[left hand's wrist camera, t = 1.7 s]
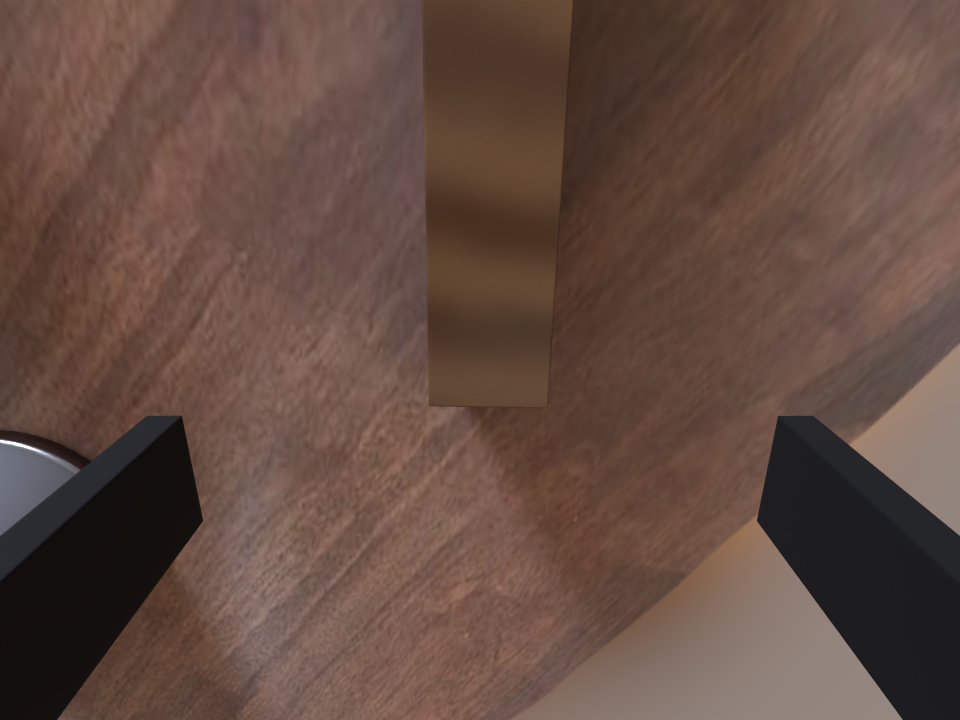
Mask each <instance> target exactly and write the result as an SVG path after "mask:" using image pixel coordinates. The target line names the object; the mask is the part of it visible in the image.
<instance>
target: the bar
mask: <svg viewBox="0 0 960 720" xmlns="http://www.w3.org/2000/svg"><path fill="white" fill-rule="evenodd" d="M573 4H574V0H422V12H423V72H424V133H425V194H426V254H427V315H428V375H429V406H451V407H515V408H547V407H548V394H549V379H550V363H551V348H552V332H553V316H554V301H555V285H556V269H557V254H558V238H559V223H560V207H561V191H562V176H563V160H564V144H565V129H566V113H567V98H568V82H569V66H570V51H571V35H572V20H573Z"/></svg>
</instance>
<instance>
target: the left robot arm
mask: <svg viewBox="0 0 960 720" xmlns="http://www.w3.org/2000/svg"><path fill="white" fill-rule="evenodd" d="M202 522H203V518H202V513H201V508H200V503H199V498H198V493H197V488H196V484H195V479H194V474H193V469H192V464H191V459H190V454H189V449H188V444H187V439H186V434H185V429H184V425H183V420H182V416H146V417H145V418H144V419H143V420H141V421H140V422H139V423H138V424H137V425H135V426H134V427H133V428H132V429H130V430H129V431H128V432H127V433H126V434H124V435H123V436H122V437H121V438H119V439H118V440H117V441H116V442H115V443H113V444H112V445H111V446H110V447H108V448H107V449H106V450H105V451H104V452H102V453H101V454H100V455H99V456H97V457H96V458H95V459H94V460H93V461H91V462H90V461H89V460H87V459H86V458H84V457H83V456H81V455H79V454H78V453H76V452H74V451H72V450H70V449H69V448H67V447H65V446H62V445H60V444H58V443H55V442H53V441H50V440H47V439H44V438H41V437H38V436H34V435H30V434H26V433H20V432H13V431H0V720H57V719H58V718H59V716H60V715H61V714H62V712H63V711H64V710H65V708H66V707H67V706H68V704H69V703H70V701H71V700H72V699H73V697H74V696H75V695H76V693H77V692H78V691H79V689H80V688H81V686H82V685H83V684H84V682H85V681H86V680H87V678H88V677H89V676H90V674H91V673H92V671H93V670H94V669H95V667H96V666H97V665H98V663H99V662H100V661H101V659H102V658H103V656H104V655H105V654H106V652H107V651H108V650H109V648H110V647H111V646H112V644H113V643H114V642H115V640H116V639H117V637H118V636H119V635H120V633H121V632H122V631H123V629H124V628H125V627H126V625H127V624H128V622H129V621H130V620H131V618H132V617H133V616H134V614H135V613H136V612H137V610H138V609H139V607H140V606H141V605H142V603H143V602H144V601H145V599H146V598H147V597H148V595H149V594H150V592H151V591H152V590H153V588H154V587H155V586H156V584H157V583H158V582H159V580H160V579H161V577H162V576H163V575H164V573H165V572H166V571H167V569H168V568H169V567H170V565H171V564H172V563H173V561H174V560H175V558H176V557H177V556H178V554H179V553H180V552H181V550H182V549H183V548H184V546H185V545H186V543H187V542H188V541H189V539H190V538H191V537H192V535H193V534H194V533H195V531H196V530H197V528H198V527H199V526H200V524H201V523H202ZM757 522H758V523H759V524H760V526H761V527H762V528H763V530H764V531H765V532H766V534H767V535H768V537H769V538H770V539H771V541H772V542H773V543H774V545H775V546H776V548H777V549H778V550H779V552H780V553H781V554H782V556H783V557H784V558H785V560H786V561H787V562H788V564H789V565H790V567H791V568H792V569H793V571H794V572H795V573H796V575H797V576H798V577H799V579H800V580H801V582H802V583H803V584H804V586H805V587H806V588H807V590H808V591H809V592H810V594H811V595H812V596H813V598H814V599H815V601H816V602H817V603H818V605H819V606H820V607H821V609H822V610H823V612H824V613H825V614H826V616H827V617H828V618H829V620H830V621H831V622H832V624H833V625H834V626H835V628H836V629H837V631H838V632H839V633H840V635H841V636H842V637H843V639H844V640H845V642H846V643H847V644H848V646H849V647H850V648H851V650H852V651H853V652H854V654H855V655H856V656H857V658H858V659H859V661H860V662H861V663H862V665H863V666H864V667H865V669H866V670H867V671H868V673H869V674H870V676H871V677H872V678H873V680H874V681H875V682H876V684H877V685H878V686H879V688H880V689H881V690H882V692H883V693H884V695H885V696H886V697H887V699H888V700H889V701H890V703H891V704H892V706H893V707H894V708H895V710H896V711H897V712H898V714H899V715H900V716H901V718H902V719H903V720H960V536H959V535H958V534H957V533H956V532H954V531H953V530H952V529H951V528H949V527H948V526H947V525H946V524H945V523H943V522H942V521H941V520H940V519H938V518H937V517H936V516H935V515H934V514H932V513H931V512H930V511H929V510H927V509H926V508H925V507H924V506H922V505H921V504H920V503H919V502H918V501H916V500H915V499H914V498H913V497H912V496H910V495H909V494H908V493H907V492H905V491H904V490H903V489H902V488H900V487H899V486H898V485H897V484H896V483H894V482H893V481H892V480H891V479H889V478H888V477H887V476H886V475H885V474H883V473H882V472H881V471H880V470H878V469H877V468H876V467H875V466H873V465H872V464H871V463H870V462H869V461H867V460H866V459H865V458H864V457H863V456H861V455H860V454H859V453H858V452H856V451H855V450H854V449H853V448H852V447H850V446H849V445H848V444H847V443H845V442H844V441H843V440H842V439H841V438H839V437H838V436H837V435H836V434H834V433H833V432H832V431H831V430H830V429H828V428H827V427H826V426H825V425H823V424H822V423H821V422H820V421H819V420H817V419H816V418H815V417H814V416H778V420H777V425H776V429H775V434H774V439H773V444H772V449H771V454H770V459H769V464H768V469H767V474H766V479H765V484H764V488H763V493H762V498H761V503H760V508H759V513H758V518H757Z"/></svg>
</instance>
